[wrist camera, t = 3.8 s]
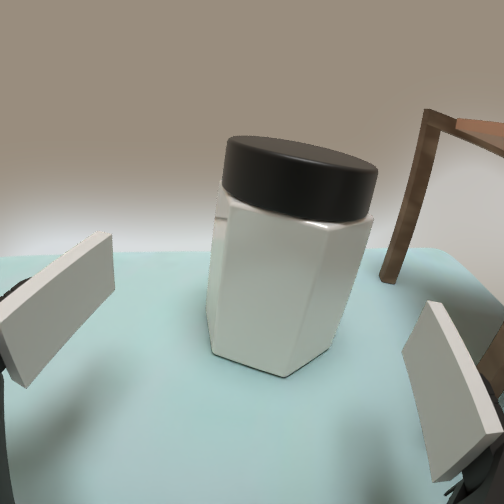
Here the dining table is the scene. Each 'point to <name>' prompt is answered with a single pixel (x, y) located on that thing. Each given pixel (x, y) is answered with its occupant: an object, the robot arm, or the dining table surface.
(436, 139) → the trapdoor frame
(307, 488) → the dining table surface
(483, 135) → the trapdoor
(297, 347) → the jar
